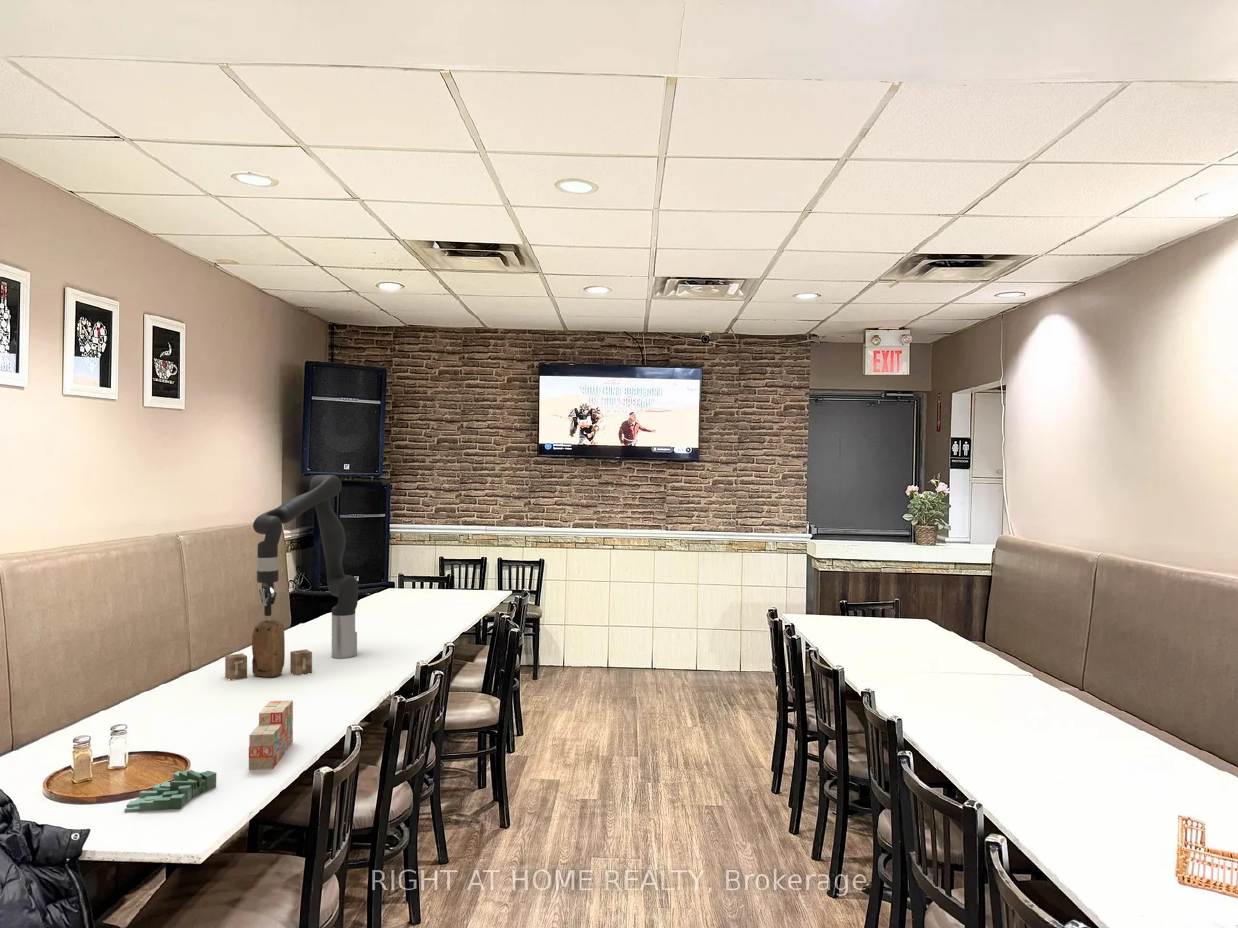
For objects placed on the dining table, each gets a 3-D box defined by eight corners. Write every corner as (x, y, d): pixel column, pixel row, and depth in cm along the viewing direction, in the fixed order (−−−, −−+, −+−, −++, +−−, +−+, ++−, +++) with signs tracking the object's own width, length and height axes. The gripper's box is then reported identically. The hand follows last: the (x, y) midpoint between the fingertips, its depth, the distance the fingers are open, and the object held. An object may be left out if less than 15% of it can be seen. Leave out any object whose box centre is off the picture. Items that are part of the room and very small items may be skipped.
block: (286, 673, 317) (286, 620, 317) (274, 678, 310) (274, 624, 310) (261, 671, 320) (261, 619, 320) (248, 676, 313) (248, 622, 313)
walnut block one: (306, 670, 323) (306, 649, 323) (312, 673, 318) (312, 652, 318) (290, 672, 319) (290, 651, 319) (296, 675, 315) (296, 654, 314)
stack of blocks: (273, 769, 220) (273, 722, 220) (248, 770, 219) (248, 723, 219) (293, 742, 241) (293, 699, 241) (270, 743, 240) (270, 699, 240)
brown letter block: (242, 674, 316) (242, 653, 316) (247, 677, 311) (247, 656, 311) (225, 677, 312) (225, 655, 312) (229, 680, 307) (230, 658, 307)
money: (199, 810, 195) (199, 788, 195) (123, 814, 192) (123, 793, 192) (224, 777, 215) (224, 758, 215) (155, 781, 212) (155, 762, 212)
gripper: (283, 570, 312) (283, 616, 312) (272, 566, 322) (272, 611, 322) (262, 571, 307) (262, 619, 307) (251, 568, 317) (251, 614, 318)
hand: (267, 615), depth 315 cm, fingers closed
